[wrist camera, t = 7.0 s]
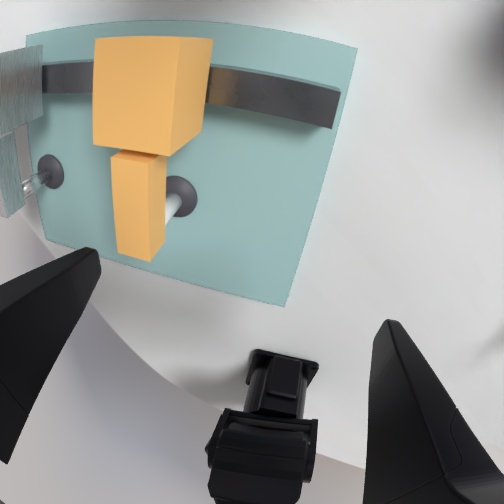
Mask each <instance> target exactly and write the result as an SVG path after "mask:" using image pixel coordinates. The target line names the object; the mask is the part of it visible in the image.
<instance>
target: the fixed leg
mask: <svg viewBox="0 0 504 504" xmlns="http://www.w3.org/2000/svg"><path fill="white" fill-rule="evenodd" d="M42 53H43V44H42V45H37V46H31V47H26V48H21V49H16V50H11V51H7V52H3V53H0V216H2V217H5V218H9V217H10V216H11V215H12V214H14V213H15V212H16V211H17V210H19V209H20V208H21V207H22V206H24V205H25V198H27V197H28V196H29V195H31V194H32V193H33V192H35V191H36V190H38V189H39V188H40V187H42V186H43V185H44V184H46V183H47V182H49V181H50V180H51V174H50V172H49V170H48V169H46V168H43V169H41V170H40V171H38V172H37V173H35V174H34V175H32V176H31V177H29V178H28V179H26V180H25V181H23V182H22V183H21V178H20V172H19V165H18V159H17V151H16V143H15V134H14V132H12V131H11V130H13V129H15V128H17V127H19V126H21V125H23V124H25V123H27V122H30V121H32V120H34V119H36V118H39V117H41V116H43V106H42Z"/></svg>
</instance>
